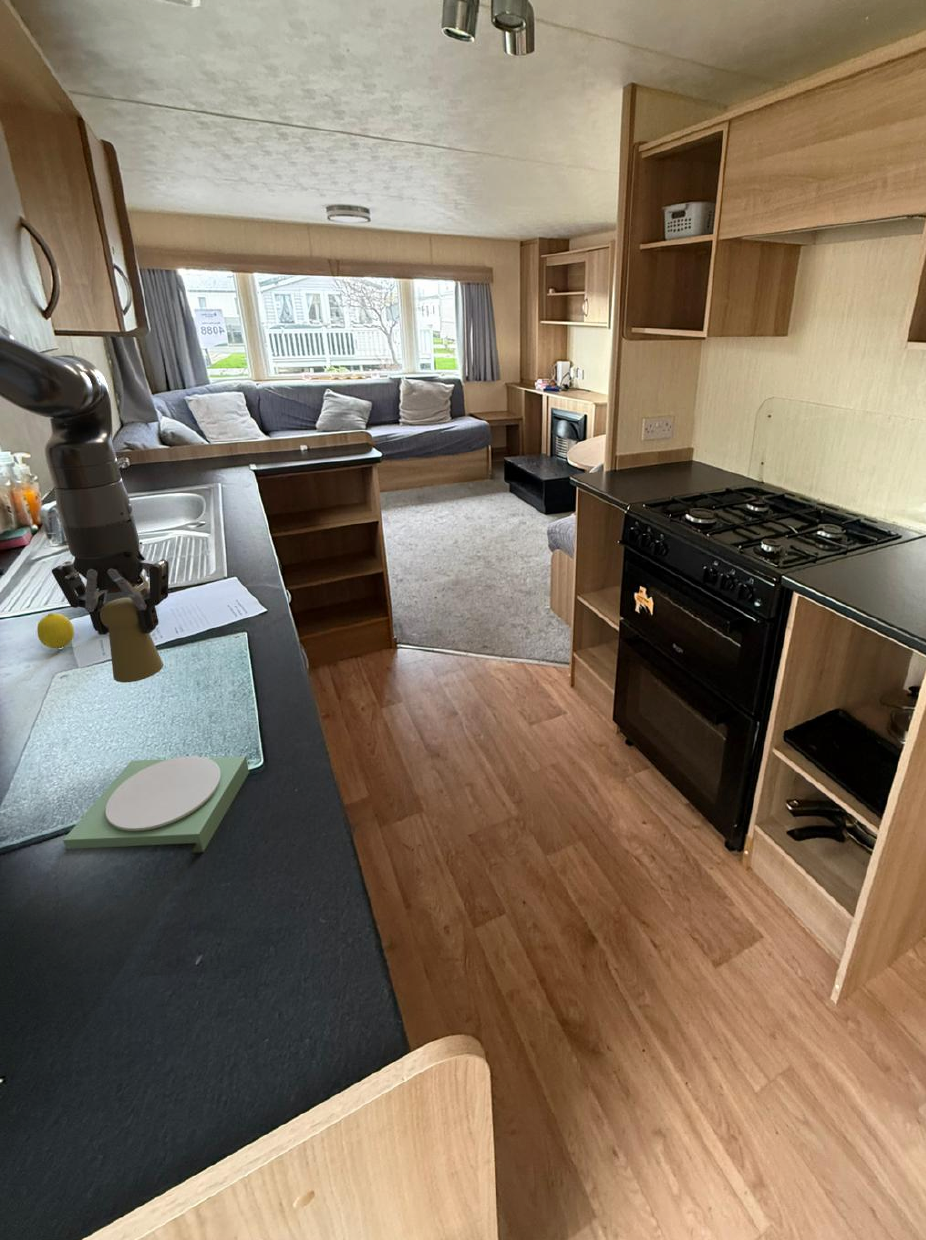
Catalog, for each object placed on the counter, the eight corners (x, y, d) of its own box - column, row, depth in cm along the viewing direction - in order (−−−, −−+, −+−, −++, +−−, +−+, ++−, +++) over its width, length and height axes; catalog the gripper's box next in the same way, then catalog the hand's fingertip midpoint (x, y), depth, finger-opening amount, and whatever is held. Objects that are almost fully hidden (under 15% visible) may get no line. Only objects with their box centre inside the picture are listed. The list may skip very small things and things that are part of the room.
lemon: (42, 648, 119) (31, 613, 117) (76, 639, 123) (66, 604, 120) (45, 659, 116) (33, 622, 113) (80, 649, 119) (69, 614, 116)
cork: (105, 685, 82) (84, 613, 78) (124, 662, 87) (105, 594, 83) (154, 679, 83) (135, 609, 79) (169, 657, 88) (153, 590, 85)
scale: (66, 858, 73) (58, 835, 71) (134, 777, 86) (127, 755, 84) (203, 852, 74) (197, 829, 72) (249, 772, 87) (245, 751, 85)
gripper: (17, 526, 73) (55, 647, 79) (138, 524, 74) (167, 643, 80) (59, 508, 80) (91, 620, 86) (170, 506, 81) (194, 617, 87)
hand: (128, 631), depth 83 cm, fingers closed on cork, 5 cm apart
